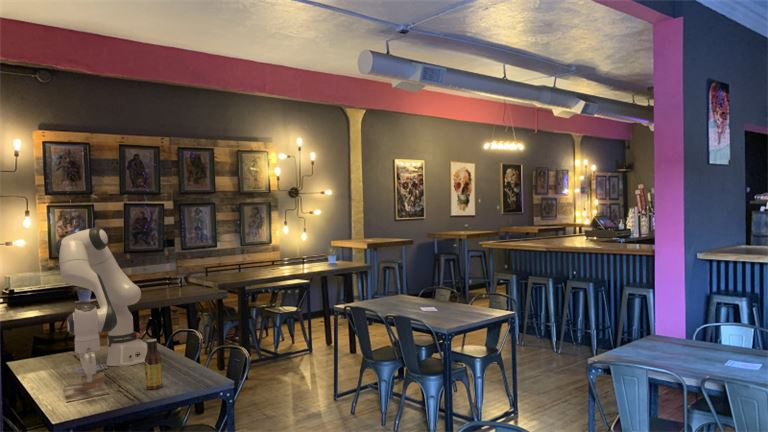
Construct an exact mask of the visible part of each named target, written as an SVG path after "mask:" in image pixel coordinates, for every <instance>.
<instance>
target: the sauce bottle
mask: <svg viewBox="0 0 768 432" xmlns="http://www.w3.org/2000/svg"><path fill="white" fill-rule="evenodd" d="M146 343H147V354H146V357H145V362H144V371H145V373H144V374H145V385H146V389H147V390H157V389H160V388H161V387H162V386H163V371H162V369H163V368H162V359H161V358H162V357H161V353H160V352H159V351H158V339H157V338H151V339H148V340H147V339H146Z"/></svg>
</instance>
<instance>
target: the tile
mask: <svg viewBox="0 0 768 432" xmlns="http://www.w3.org/2000/svg"><path fill="white" fill-rule="evenodd" d="M75 383H82V380H81V381H80V380H79V381H76V382H71V384H75ZM91 388H96V384H93V385H88V386H83V388H78V389H73V390H74V392H76V391H81V390H86V389H91Z"/></svg>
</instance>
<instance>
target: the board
mask: <svg viewBox="0 0 768 432" xmlns="http://www.w3.org/2000/svg"><path fill="white" fill-rule="evenodd" d="M70 384H71V383H70ZM70 384H69V383H68V385H70ZM61 388H62V392H63V395H64V398H65V400H66V402H65V404H70V403H75V402H79V401H84V400H85V401H86V400H89V399H94V398H95V399H96V398H101V397H104V396H109V395H110V393H109V392H110V391H109V390H108V387H107V386H106V384H105V382H104V383H99V384H96V388H91V389H86V390H81V391H76V392H74V390H67V391H65V388H64V385H61ZM73 399H74V400H73Z"/></svg>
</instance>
